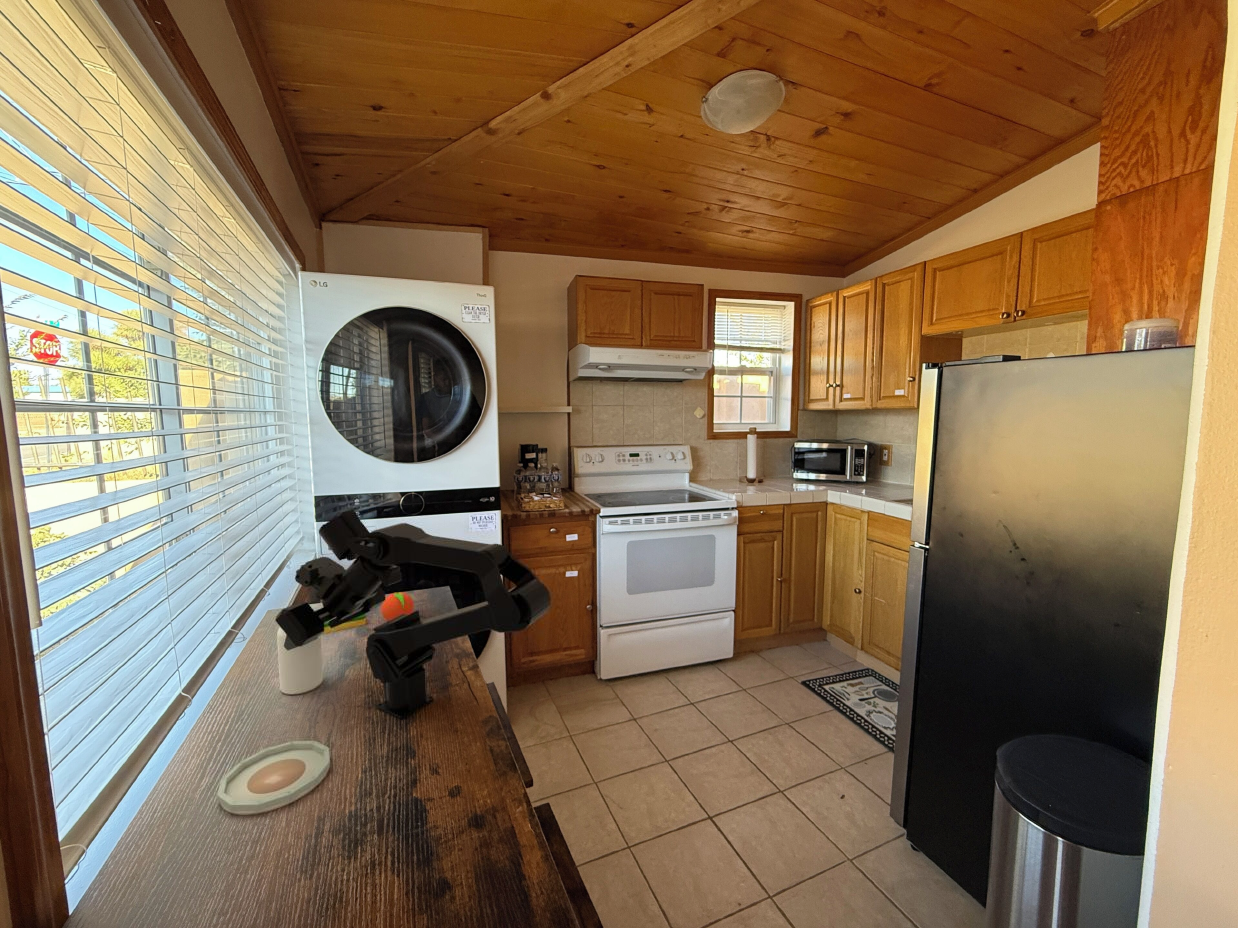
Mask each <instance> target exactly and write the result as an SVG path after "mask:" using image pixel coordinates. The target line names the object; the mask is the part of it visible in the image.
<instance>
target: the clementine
mask: <svg viewBox="0 0 1238 928" xmlns="http://www.w3.org/2000/svg"><path fill="white" fill-rule="evenodd" d="M414 607H415V606H414V600H413V599H412V597H411V596H410V595H409V594H407V593H405V592H401V591H399V592H393V593H390V594H389V595H388V596H387V597H385V601H384V602H383V603H382V604H381V609H380V610H381V615H382V616H383V618H384V619H385V620H386V622H388V621H390V620H392V619H394V618H396V617H398V616H400V615H402V614H411V613H413V612H414Z"/></svg>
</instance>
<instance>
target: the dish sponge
mask: <svg viewBox="0 0 1238 928" xmlns="http://www.w3.org/2000/svg"><path fill="white" fill-rule="evenodd" d="M366 617H367V616H366V614H364V615H362V616H359V617H357V618H355V619H352V620H350V621H348V622H345V623H343V624H341V625H338V626H336V627H334V628H330V626H329V625H328V623H329V621H328V622H326V623H324V632H323V633H322V634H326V633H332V632H336V631H341V630H346V629H351V628H356V627H359V626H364V625H367V619H366ZM322 634H321V635H322Z"/></svg>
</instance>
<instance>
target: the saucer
mask: <svg viewBox="0 0 1238 928" xmlns="http://www.w3.org/2000/svg"><path fill="white" fill-rule="evenodd" d="M330 758H331V757H330V748H329V747H328V746H327V745H324V744H322V743H320V742H318V741H316V740H295V741H287V742H284V743H282V744H278V745H274V746H270V747H267V748H264V749H262V750H260V751H258V752H257V753H254V754H252V755H251V756H248V757H247V758H245V759H243V760H240V761H239V762H238V763H237V764H235V766H233V767H232V769H231V770H230V771H229V772H227V773H226V774H225V775H224V776H223V777H221V780H220V783H219V788H218V792H217V795H216V797H217V802H218V803H219V804H220V806H221V808H222V809H223V810H224V811H225V812H227V813H230V814H233V815H240V816H247V815H248V816H249V815H250V816H251V815H256V814H264V813H267V812H271V811H274V810H277V809H279V808H282V807H284V806H287V805H289V804H292V803H293V802H295V801H298V800H300V799H301V798H303V797H304V796H305V795H307V794H309V793H310V792H311V791H313V790H314V789H315V788H316V787H318V785H320V783H321V782H322V781H323V780H324V779H325V777H326V776H327V774H328V773H329V770H330V768H331V762H330Z"/></svg>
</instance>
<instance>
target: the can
mask: <svg viewBox="0 0 1238 928" xmlns="http://www.w3.org/2000/svg"><path fill="white" fill-rule="evenodd" d="M286 635H287V634H286V633H285V632H284V631H283V630H282V628H281V627H280V626H279V628H278V630H277V632H276V639H277V640H276V641H277V658H278V660H277V661H278V662H277V663H278V675H279V676H278V677H279V688H280V692H282V693H283V694H284V695H289V696H297V695H302V694H305V693H309V692H311V691H314V690H315V689H317V688H318V687H319V686H320V685H321V684H322V683H323V680H324V673H323V672H324V671H323V654H322V653H323V652H322V649H323V648H322V634H321V635H320V636H318V638H317V639H315V640H313V641H312V642H310V643H308V644H306V645H303V646H301V647H300V646H299V647H296V648H294V649H291V650H286V648H285V647H284V643H285V639H286Z"/></svg>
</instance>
